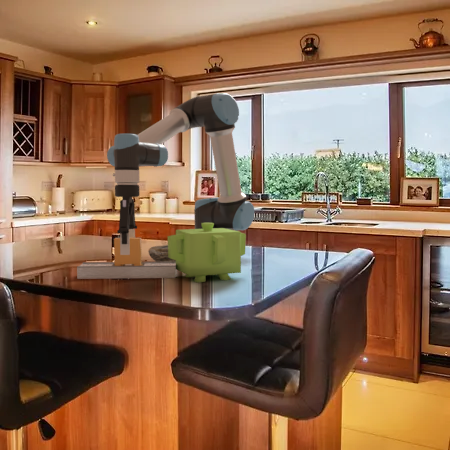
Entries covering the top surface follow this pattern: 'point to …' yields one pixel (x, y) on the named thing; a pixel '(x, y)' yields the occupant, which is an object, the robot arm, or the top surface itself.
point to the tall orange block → (134, 253)
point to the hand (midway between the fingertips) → (128, 251)
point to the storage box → (207, 251)
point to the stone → (160, 254)
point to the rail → (126, 270)
